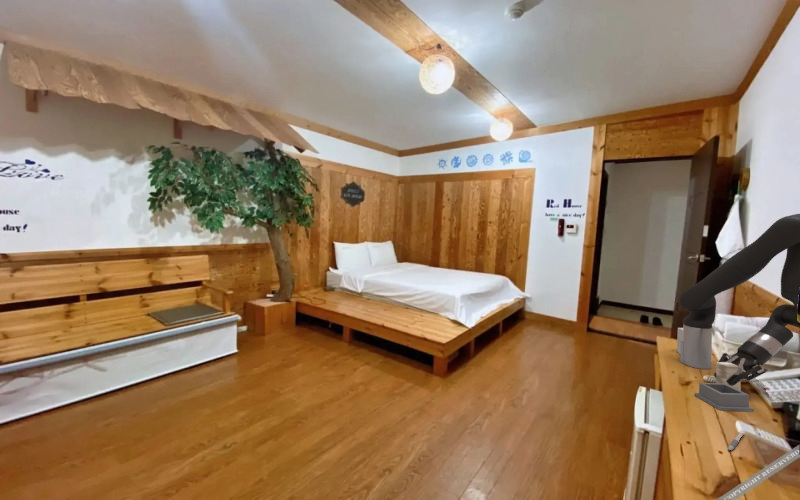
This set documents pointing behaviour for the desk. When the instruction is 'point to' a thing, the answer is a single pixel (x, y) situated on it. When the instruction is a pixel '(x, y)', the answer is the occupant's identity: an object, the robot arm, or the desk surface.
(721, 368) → the cream block
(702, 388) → the pocket stand
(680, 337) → the skincare box
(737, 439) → the pen
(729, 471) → the desk surface
